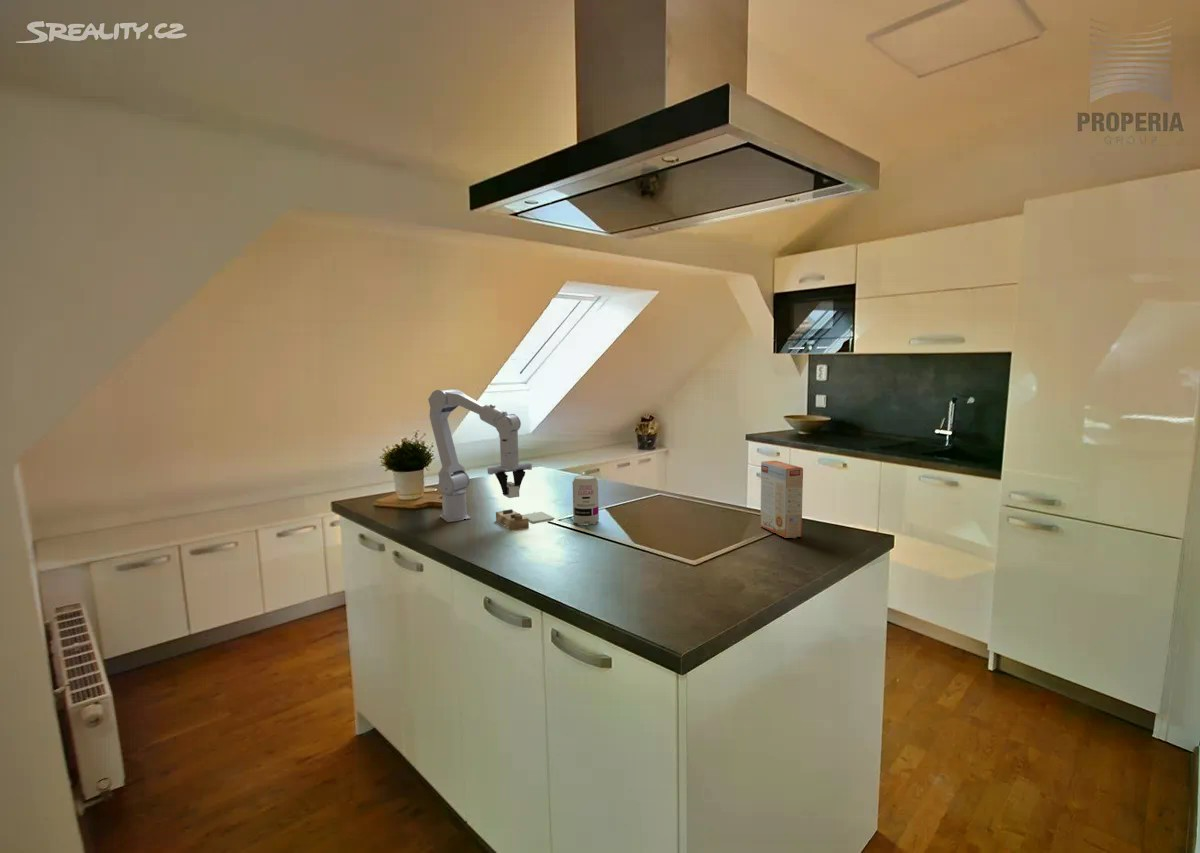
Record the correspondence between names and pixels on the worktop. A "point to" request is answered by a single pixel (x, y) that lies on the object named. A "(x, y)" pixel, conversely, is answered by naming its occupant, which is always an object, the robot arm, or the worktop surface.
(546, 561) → the worktop surface
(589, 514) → the supplement can
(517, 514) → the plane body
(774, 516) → the cracker box
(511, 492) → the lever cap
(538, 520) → the rubber mat
